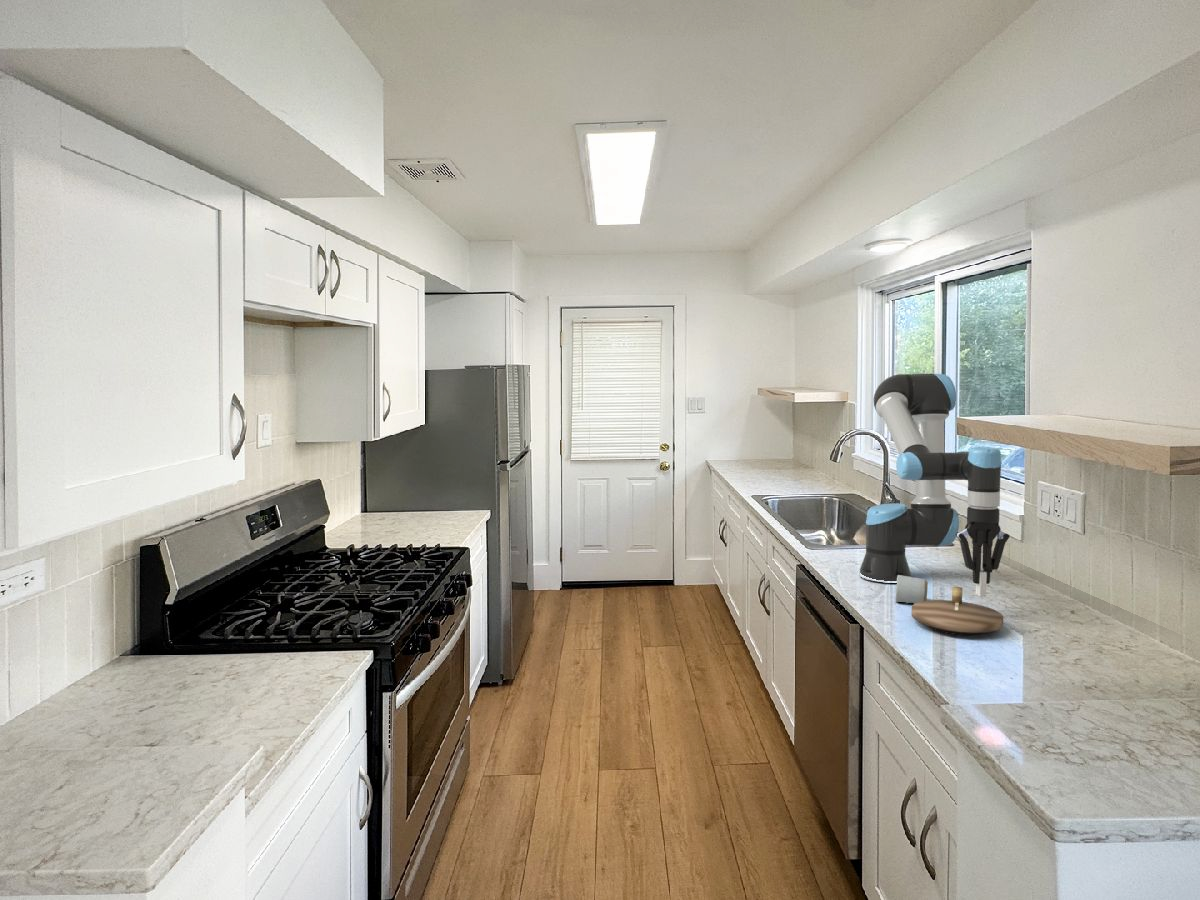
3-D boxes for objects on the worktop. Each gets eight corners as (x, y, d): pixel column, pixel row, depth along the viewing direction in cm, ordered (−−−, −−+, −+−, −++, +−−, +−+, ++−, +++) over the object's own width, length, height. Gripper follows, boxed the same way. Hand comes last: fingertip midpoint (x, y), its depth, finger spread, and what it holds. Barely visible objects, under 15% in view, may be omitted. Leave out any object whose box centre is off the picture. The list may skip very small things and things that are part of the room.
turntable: (1004, 637, 174) (1005, 613, 174) (908, 625, 184) (909, 602, 183) (1001, 612, 193) (1002, 590, 192) (914, 602, 202) (914, 582, 202)
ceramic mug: (927, 608, 203) (928, 580, 203) (895, 605, 206) (895, 578, 206) (926, 598, 213) (927, 572, 213) (895, 595, 216) (896, 569, 216)
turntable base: (927, 614, 198) (927, 609, 198) (986, 621, 192) (986, 615, 191) (924, 630, 185) (924, 624, 185) (987, 638, 179) (987, 632, 179)
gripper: (1002, 504, 197) (999, 592, 199) (951, 504, 198) (949, 591, 200) (1016, 509, 189) (1013, 599, 191) (963, 509, 190) (960, 599, 192)
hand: (980, 595), depth 195 cm, fingers closed
